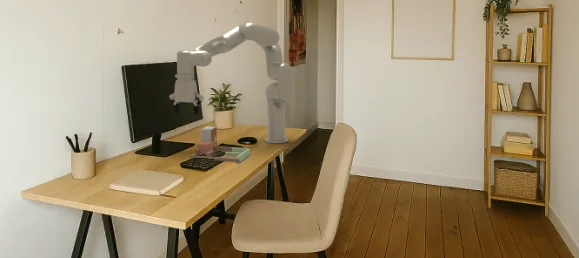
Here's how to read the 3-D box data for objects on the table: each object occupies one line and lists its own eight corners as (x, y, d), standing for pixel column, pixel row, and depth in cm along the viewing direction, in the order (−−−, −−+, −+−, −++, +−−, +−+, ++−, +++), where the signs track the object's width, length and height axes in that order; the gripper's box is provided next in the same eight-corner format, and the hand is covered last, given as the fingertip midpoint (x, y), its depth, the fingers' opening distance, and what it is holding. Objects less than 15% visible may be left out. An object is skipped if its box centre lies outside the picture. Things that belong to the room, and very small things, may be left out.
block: (202, 151, 207) (202, 141, 206) (213, 152, 206) (212, 141, 205) (197, 154, 202) (197, 143, 201) (208, 154, 201) (207, 144, 200)
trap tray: (203, 151, 209) (203, 145, 209) (250, 154, 204) (250, 148, 203) (189, 159, 195) (189, 152, 194) (238, 163, 189) (238, 156, 189)
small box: (211, 150, 211) (210, 129, 209) (200, 150, 212) (200, 129, 210) (217, 146, 218) (216, 126, 216) (207, 146, 219) (206, 126, 217)
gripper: (164, 77, 198) (166, 113, 201) (199, 78, 193) (200, 116, 197) (173, 76, 205) (174, 111, 208) (206, 77, 201) (207, 113, 204)
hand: (186, 113), depth 202 cm, fingers open, 9 cm apart
